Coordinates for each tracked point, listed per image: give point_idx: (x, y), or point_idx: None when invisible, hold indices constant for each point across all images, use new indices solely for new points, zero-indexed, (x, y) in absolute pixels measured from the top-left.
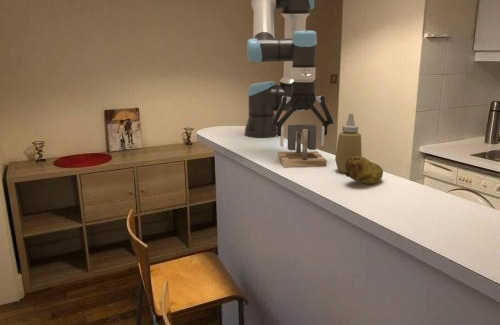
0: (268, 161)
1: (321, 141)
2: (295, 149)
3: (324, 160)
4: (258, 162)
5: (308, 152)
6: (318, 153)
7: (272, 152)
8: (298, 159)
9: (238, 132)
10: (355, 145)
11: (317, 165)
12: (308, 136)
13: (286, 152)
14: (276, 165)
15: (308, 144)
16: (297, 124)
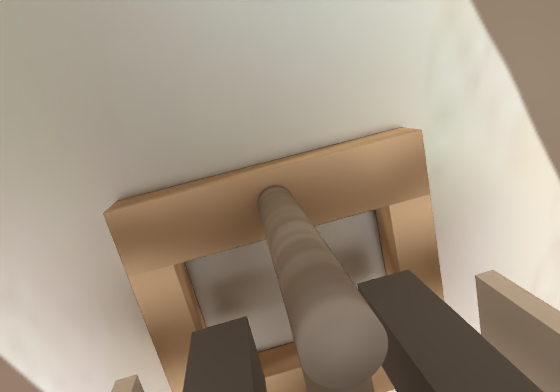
0: (70, 312)
1: (506, 352)
2: (264, 382)
3: None
4: (6, 348)
5: (353, 186)
6: (424, 206)
7: (29, 21)
8: (283, 388)
9: None
10: None
11: None
12: (412, 386)
13: (178, 216)
14: (145, 387)
15: None
16: (313, 372)
